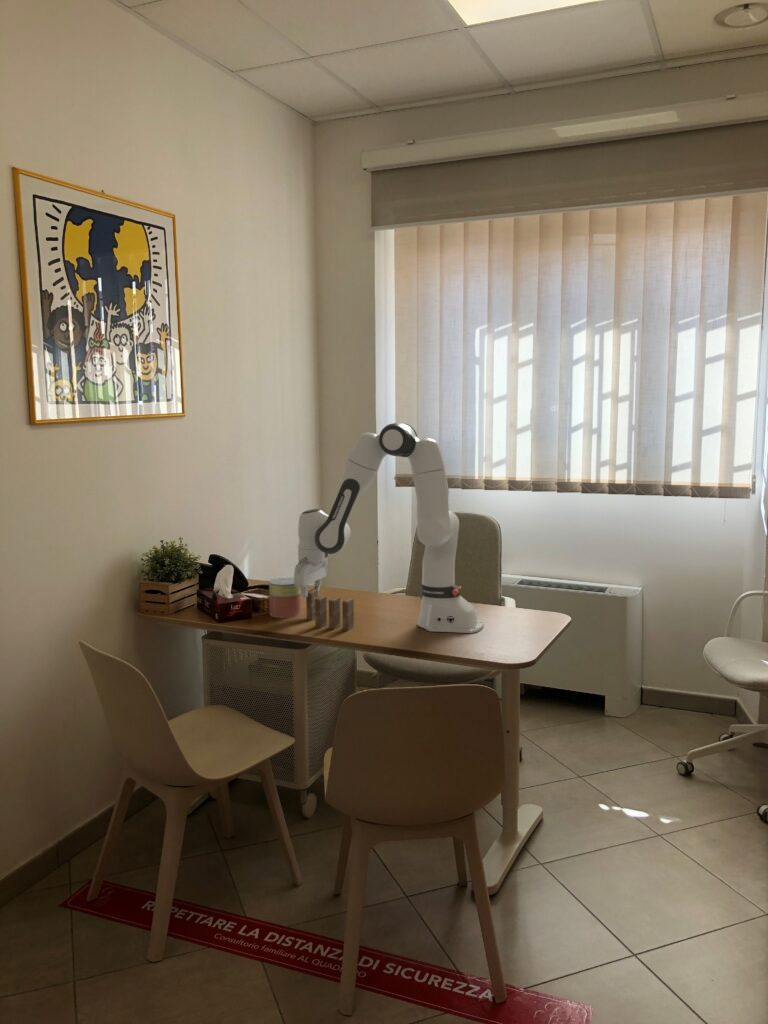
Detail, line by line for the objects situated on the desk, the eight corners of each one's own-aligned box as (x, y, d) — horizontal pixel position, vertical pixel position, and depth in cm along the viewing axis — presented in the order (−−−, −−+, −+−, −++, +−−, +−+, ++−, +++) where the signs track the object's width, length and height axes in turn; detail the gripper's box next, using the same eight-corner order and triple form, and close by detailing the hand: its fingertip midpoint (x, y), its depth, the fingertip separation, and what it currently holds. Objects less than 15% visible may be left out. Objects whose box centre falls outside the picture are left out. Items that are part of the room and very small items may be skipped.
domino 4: (353, 627, 291) (353, 598, 289) (348, 631, 286) (347, 601, 285) (348, 626, 291) (348, 597, 290) (342, 630, 287) (342, 601, 285)
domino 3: (340, 625, 292) (340, 597, 291) (334, 629, 288) (334, 600, 286) (334, 625, 293) (334, 596, 292) (328, 629, 288) (328, 600, 287)
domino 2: (326, 624, 294) (326, 596, 293) (320, 628, 289) (320, 599, 288) (321, 624, 295) (321, 595, 293) (315, 627, 290) (315, 598, 289)
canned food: (303, 610, 314) (303, 578, 312) (297, 618, 303) (297, 584, 301) (273, 609, 315) (272, 577, 313) (266, 617, 304) (265, 584, 302)
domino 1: (318, 617, 304) (317, 589, 303) (312, 620, 299) (311, 592, 298) (312, 616, 305) (312, 589, 303) (306, 620, 300) (306, 592, 299)
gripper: (306, 561, 288) (306, 601, 290) (330, 551, 307) (330, 589, 309) (289, 560, 290) (289, 599, 292) (314, 549, 309) (314, 587, 311)
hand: (310, 594), depth 301 cm, fingers open, 8 cm apart
